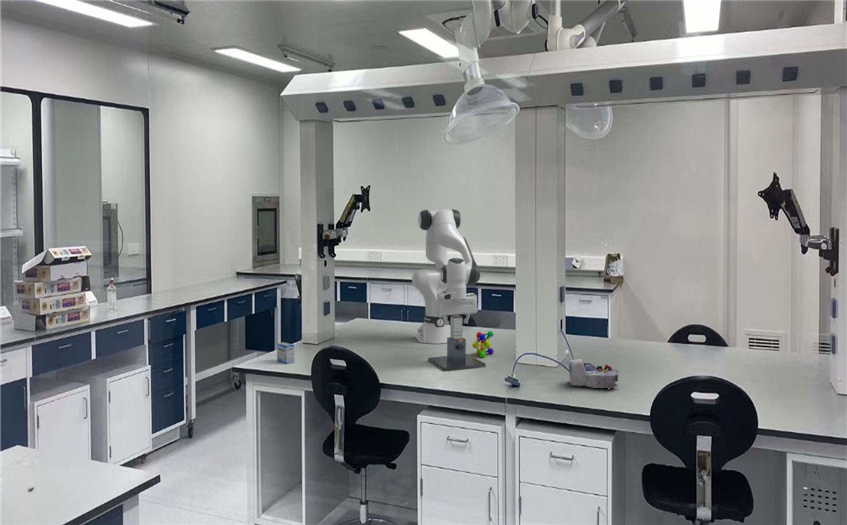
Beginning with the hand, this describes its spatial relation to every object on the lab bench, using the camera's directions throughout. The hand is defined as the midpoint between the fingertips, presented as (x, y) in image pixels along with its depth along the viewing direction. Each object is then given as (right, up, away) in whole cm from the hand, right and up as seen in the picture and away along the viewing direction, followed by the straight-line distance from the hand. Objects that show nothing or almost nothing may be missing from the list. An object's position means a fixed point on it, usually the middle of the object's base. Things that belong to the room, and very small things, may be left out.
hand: (456, 324), depth 303 cm
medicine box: (-79, -19, +7) cm, 82 cm away
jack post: (0, -13, +1) cm, 13 cm away
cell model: (+54, -22, -34) cm, 67 cm away
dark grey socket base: (0, -19, +2) cm, 19 cm away
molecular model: (+14, -17, +18) cm, 29 cm away
